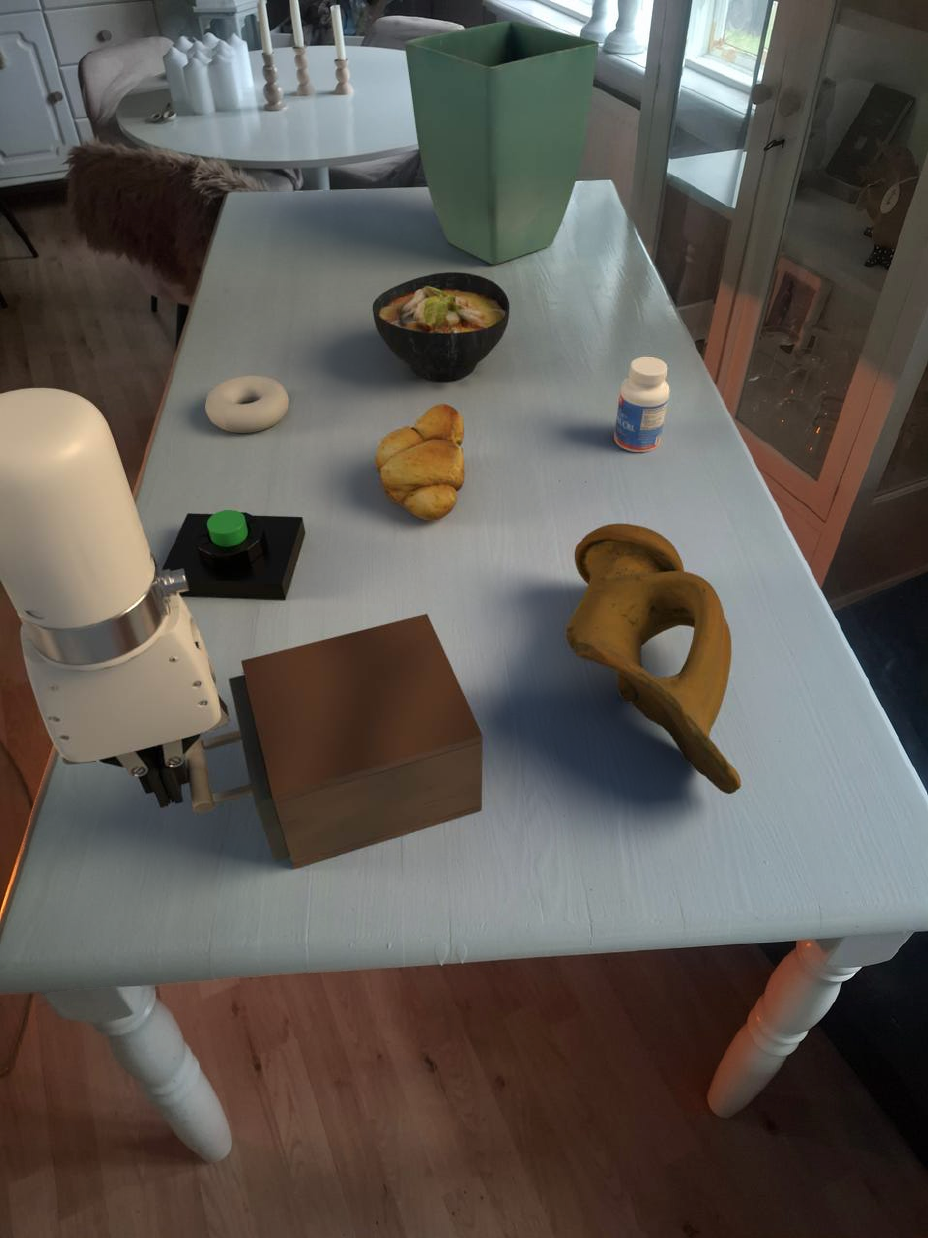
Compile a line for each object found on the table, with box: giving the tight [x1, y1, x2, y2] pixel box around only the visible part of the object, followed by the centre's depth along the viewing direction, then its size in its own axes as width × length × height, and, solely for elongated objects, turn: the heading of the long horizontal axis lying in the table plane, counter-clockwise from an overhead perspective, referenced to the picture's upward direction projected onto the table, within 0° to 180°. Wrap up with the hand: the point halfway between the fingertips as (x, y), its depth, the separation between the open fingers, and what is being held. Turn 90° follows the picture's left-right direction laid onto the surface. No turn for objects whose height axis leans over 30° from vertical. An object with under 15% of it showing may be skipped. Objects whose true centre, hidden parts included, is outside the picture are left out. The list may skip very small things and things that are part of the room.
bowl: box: [372, 271, 511, 383], centre depth 110 cm, size 17×17×10 cm
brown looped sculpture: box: [565, 523, 742, 795], centre depth 70 cm, size 18×13×22 cm
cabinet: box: [240, 613, 483, 870], centre depth 65 cm, size 15×13×10 cm
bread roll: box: [374, 403, 465, 522], centre depth 91 cm, size 13×10×8 cm
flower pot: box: [404, 20, 600, 266], centre depth 131 cm, size 20×20×28 cm
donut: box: [204, 374, 290, 434], centre depth 104 cm, size 10×4×10 cm
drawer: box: [184, 674, 290, 862], centre depth 64 cm, size 18×11×8 cm, turn 109°
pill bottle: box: [613, 356, 670, 453], centre depth 97 cm, size 6×5×10 cm
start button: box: [207, 509, 248, 547], centre depth 83 cm, size 4×4×2 cm
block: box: [162, 511, 306, 601], centre depth 85 cm, size 12×10×4 cm
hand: (170, 788), depth 62 cm, fingers closed
